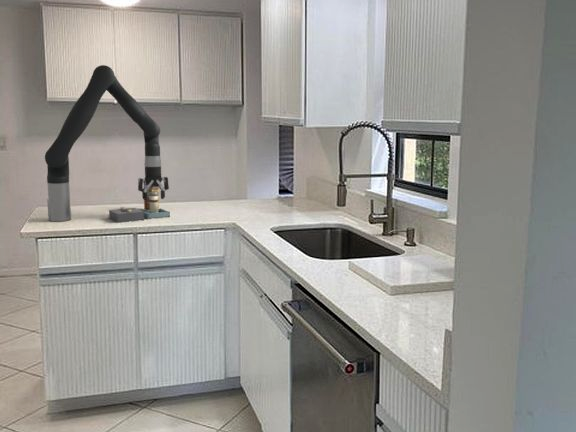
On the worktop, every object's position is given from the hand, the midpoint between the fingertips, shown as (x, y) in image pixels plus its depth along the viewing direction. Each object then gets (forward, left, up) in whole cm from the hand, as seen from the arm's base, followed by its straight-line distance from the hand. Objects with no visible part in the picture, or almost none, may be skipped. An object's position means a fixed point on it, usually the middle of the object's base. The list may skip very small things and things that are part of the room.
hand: (153, 199), depth 281 cm
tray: (0, 0, -8) cm, 8 cm away
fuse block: (-14, -1, -8) cm, 16 cm away
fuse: (0, 0, -8) cm, 8 cm away
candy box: (+5, +16, -8) cm, 19 cm away
